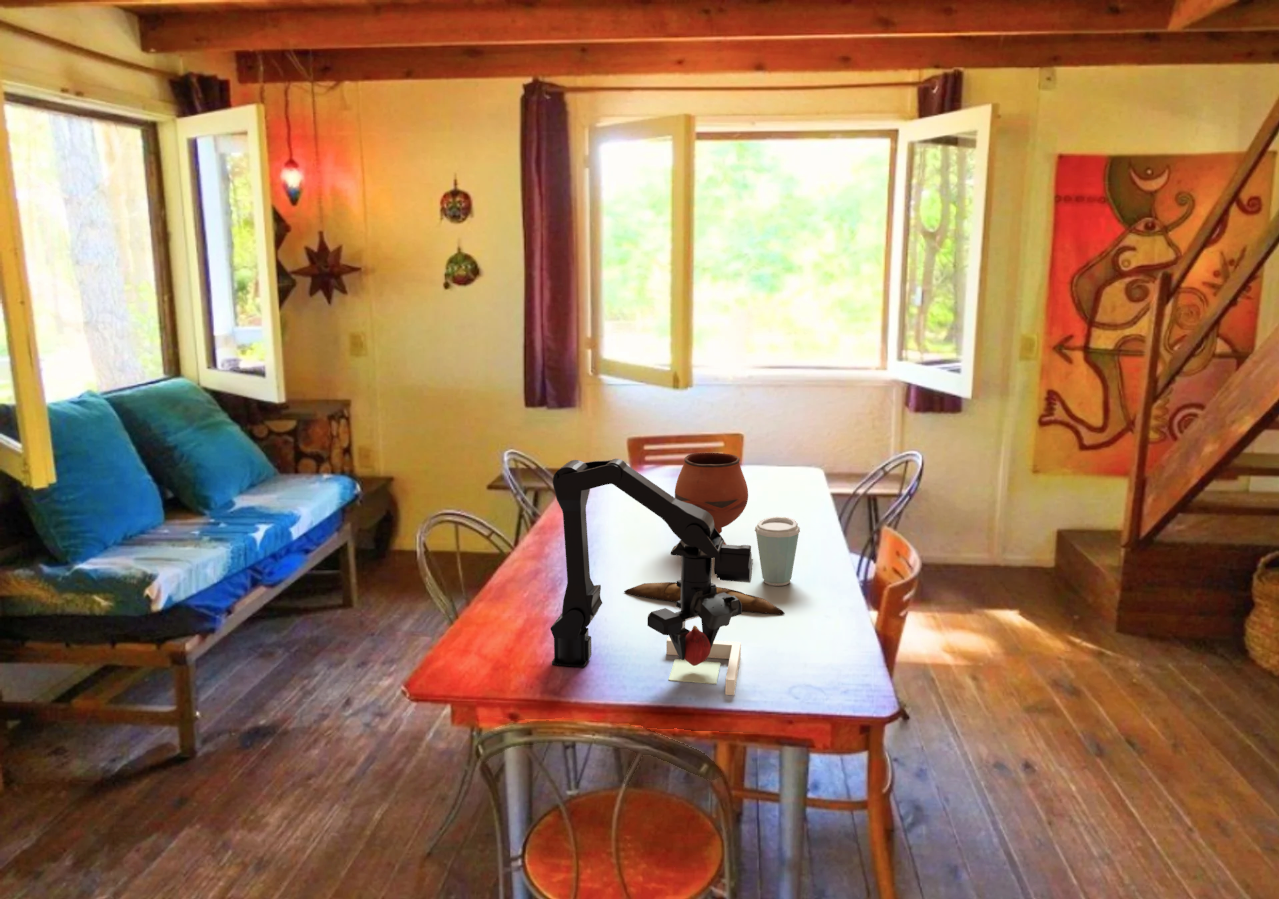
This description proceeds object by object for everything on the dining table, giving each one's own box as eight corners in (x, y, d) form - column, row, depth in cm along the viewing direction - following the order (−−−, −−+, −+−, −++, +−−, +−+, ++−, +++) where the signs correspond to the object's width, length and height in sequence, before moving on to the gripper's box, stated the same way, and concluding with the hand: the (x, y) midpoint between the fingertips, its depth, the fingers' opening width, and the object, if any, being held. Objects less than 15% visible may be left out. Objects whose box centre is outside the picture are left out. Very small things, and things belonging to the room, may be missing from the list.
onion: (716, 665, 182) (717, 626, 180) (696, 675, 177) (697, 635, 176) (692, 656, 185) (693, 617, 184) (673, 665, 181) (674, 626, 180)
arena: (654, 688, 175) (654, 673, 174) (667, 651, 191) (667, 637, 190) (734, 695, 172) (734, 680, 172) (740, 656, 188) (740, 642, 188)
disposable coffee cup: (784, 592, 222) (786, 531, 219) (744, 582, 228) (746, 523, 225) (805, 580, 230) (808, 520, 227) (766, 570, 237) (768, 512, 233)
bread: (620, 598, 220) (619, 578, 219) (627, 591, 225) (627, 571, 224) (782, 620, 207) (783, 599, 206) (787, 612, 212) (787, 591, 211)
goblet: (664, 541, 260) (665, 452, 254) (729, 534, 265) (731, 447, 260) (688, 563, 242) (690, 468, 236) (758, 556, 247) (760, 463, 242)
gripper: (683, 601, 166) (681, 684, 169) (762, 580, 176) (759, 658, 180) (646, 582, 175) (645, 661, 178) (723, 563, 185) (721, 638, 189)
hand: (694, 655), depth 181 cm, fingers closed on onion, 6 cm apart
